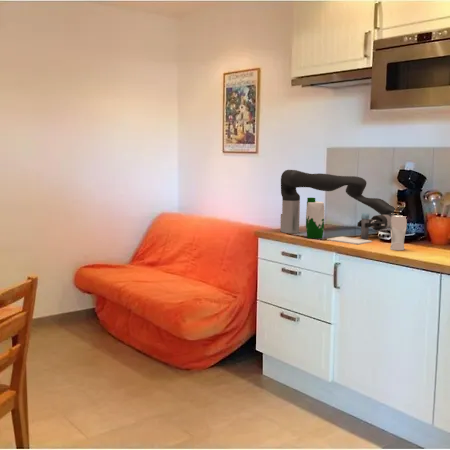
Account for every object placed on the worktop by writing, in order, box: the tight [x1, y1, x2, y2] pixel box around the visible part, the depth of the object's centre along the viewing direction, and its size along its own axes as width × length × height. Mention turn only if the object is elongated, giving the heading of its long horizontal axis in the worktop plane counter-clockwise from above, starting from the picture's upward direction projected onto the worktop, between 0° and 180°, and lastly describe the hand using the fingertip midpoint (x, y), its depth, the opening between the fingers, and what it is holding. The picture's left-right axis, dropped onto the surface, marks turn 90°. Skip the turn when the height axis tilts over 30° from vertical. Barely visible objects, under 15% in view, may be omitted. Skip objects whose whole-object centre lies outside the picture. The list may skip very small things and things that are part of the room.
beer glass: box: [389, 214, 408, 251], centre depth 257 cm, size 7×7×15 cm
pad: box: [326, 236, 373, 245], centre depth 280 cm, size 18×12×1 cm, turn 42°
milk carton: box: [305, 197, 325, 239], centre depth 290 cm, size 9×9×20 cm
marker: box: [360, 212, 370, 240], centre depth 284 cm, size 4×4×12 cm
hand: (361, 225), depth 283 cm, fingers closed on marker, 3 cm apart
